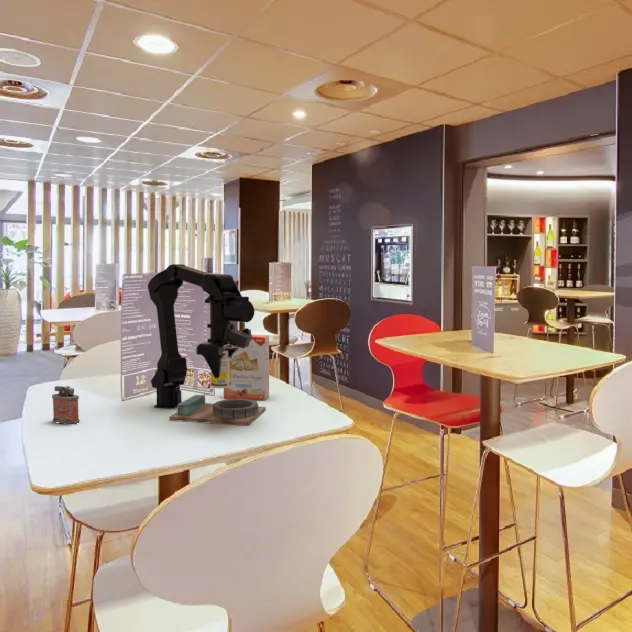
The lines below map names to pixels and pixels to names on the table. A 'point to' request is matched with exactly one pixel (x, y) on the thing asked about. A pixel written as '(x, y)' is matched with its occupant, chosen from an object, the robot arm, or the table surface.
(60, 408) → the lighter
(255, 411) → the ring
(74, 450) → the table surface
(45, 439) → the table surface
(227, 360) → the supplement bottle
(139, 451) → the table surface
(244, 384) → the cracker box
